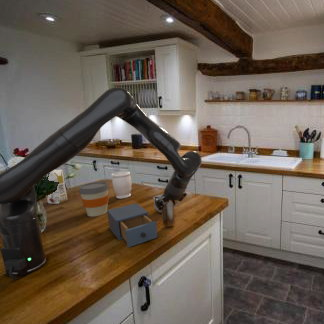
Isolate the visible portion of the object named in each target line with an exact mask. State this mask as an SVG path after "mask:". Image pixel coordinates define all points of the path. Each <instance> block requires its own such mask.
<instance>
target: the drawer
mask: <svg viewBox="0 0 324 324" xmlns="http://www.w3.org/2000/svg"><path fill="white" fill-rule="evenodd" d="M148 217H149V216H148ZM148 217H147V216H145V215H142V216H138V217H135V218H131V219H127V220H124V221H120V222H119V228H120V235H121V236H122V237H123V238H124V239H123V240H124V241H125V242H126V247H127V248H130V247H133V246H137V245H140V244H143V243H145V242H148V241H151V240H153V239H157V238H158V237H159V236H158V226H157V221H156V220H154V221H153V220H152V219H151V218H150V217H149V218H148Z"/></svg>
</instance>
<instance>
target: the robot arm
mask: <svg viewBox="0 0 324 324" xmlns="http://www.w3.org/2000/svg"><path fill="white" fill-rule="evenodd" d="M115 117H116V118H119V119H120V120H122V121H124V122H125V123H127V124H128V125H130V126H131V127H132V128H133V129H135V130H136V131H138V132H139V133H140V134H141V135H142V136H143V137H144V139H145V140H147V141H148V143H150V144H151V146H153V147H154V148H155V149H156V150H157V151H158V152H160V153H161V154H162V155H163V156H164V157H165V159H166V160H167V161H168V163H169V164H170V166H171V167H172V169H173V172H172V175H171V176H170V178H169V179H168V181H167V183H166V185H165V187H164V191H163V194H161V195H162V197H160V198H159V197H155V196H154V197H155V204H156V207H157V208H158V210H162V208H163V206H164V205H167V204H168V203H169V202H171V201H173V203H174V206H175V205H176V204H177V203H178V201H179V202H180V203H181V202H182V201H183V200H184V199H185V198H186V197H187V196H188V194H187V188H188V185H189V184H190V182H191V179H192V178H193V176H194V175H195V174H196V173H197V171H198V170H199V168H200V167H201V165H202V163H203V162H202V161H203V160H202V156H201V154H200V153H199V152H198V151H195V150H189V151H186V152H185V153H184V154H183V155H182V156H181V155H180V153H179V151H180V150H181V147H182V146H181V145H182V144H181V143H180V142H179V141H178V140H177V139H176V138H175V137H174V136H173V135H171V134H170V132H168V131H167V130H166V129H165V128H163V127H162V126H160V125H159V124H158V123H156V122H155V121H154V120H152V118H150V117H149V116H148V115H147V114H146V113H145V112H144V111H143V110H142V109H141V107H140V106H139V105H138V104H137V102H136V100H135V98H134V97H133V96H132V95H131V93H130V92H129V90H127V89H126V88H124V87H121V86H114V87H110V88H108V89H107V90H106V91H104V92H103V93H102V94H101V95H99V97H98V98H96V100H94V101H93V102H92V103H91V104H90V105H89V106H88V107H87V108H85V109H84V110H83V111H82V112H81V113H79V114H77V115H76V116H75V117H74V118H73V119H71V120H69V121H68V122H67V123H66V124H64V125H63V126H61V127H60V128H58V129H57V130H56V131H55V132H53V133H52V134H50V135H49V136H48V137H46V138H45V139H44V140H43V141H42V142H40V143H39V144H38V145H37V146H36V147H34V149H33V150H31V151H30V152H29V154H27V155H26V156H25V157H24V158H23V159H21V160H20V161H18V162H17V163H16V164H14V165H13V166H11V167H9V168H8V169H6V170H4V171H3V172H1V173H0V237H1V242H2V247H1V248H0V253H1V258H2V262H3V266H4V271H5V275H6V276H9V277H10V278H11V279H13V280H15V281H16V280H18V277H17V276H26V275H27V274H30V273H32V272H35V271H37V270H39V269H41V268H42V267H43V266H44V265H45V264H47V258H46V254H45V249H44V245H43V240H42V234H41V230H40V224H39V219H38V214H37V213H38V212H37V208H38V202H37V201H38V200H37V194H36V189H35V185H36V184H38V182H40V181H41V179H43V177H44V176H45V175H47V174H48V173H50V172H52V171H53V170H58V169H59V168H60V167H61V166H63V165H65V164H66V163H68V162H69V161H71V160H72V159H74V158H75V157H77V156H78V155H79V154H80V153H81V152H82V151H84V150H85V149H87V147H88V146H89V145H90V144H91V143H92V141H93V140H94V139H95V137H96V136H97V134H98V132H99V131H100V130H101V128H102V127H103V126H105V125H106V124H107V123H108V122H110V121H111V120H113V119H114V118H115ZM162 203H163V204H162Z"/></svg>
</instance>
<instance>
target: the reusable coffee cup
mask: <svg viewBox="0 0 324 324" xmlns="http://www.w3.org/2000/svg"><path fill="white" fill-rule="evenodd" d="M78 189H79V195H80V196H81V197H80V199H81V203H82V205H83V208H84V209H85V212H86V215H87V216H88V217H99V216H102V215H105V214H106V213H107V210H108V205H109V204H108V203H109V199H110V197H109V184H108V182H105V181H93V182H89V183H84V184H81V185H80V186H79V188H78ZM107 214H108V213H107Z"/></svg>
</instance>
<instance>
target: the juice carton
mask: <svg viewBox="0 0 324 324" xmlns="http://www.w3.org/2000/svg"><path fill="white" fill-rule="evenodd" d="M63 171H64V169H55V170H53V171H52V172H50V174H49V177H48V180H49V181H54V182H59V184H58V186H57V190H56V191H55V192H53V193H52V194H50V195H48V196H47V195H46V201H47V203H48V204H53V205H60V204H61V203H64V202H67V201H68V194H67V189H66V182H65V177H64V172H63Z"/></svg>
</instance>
